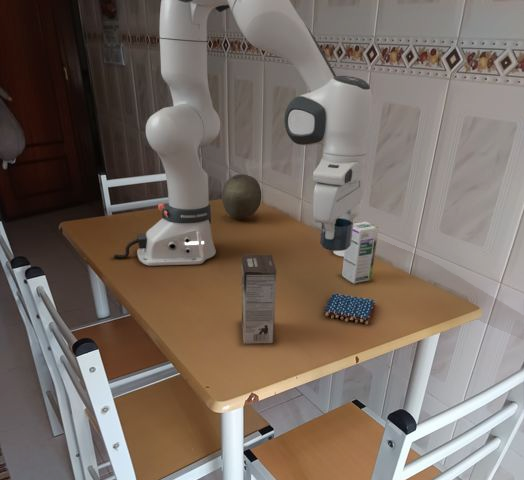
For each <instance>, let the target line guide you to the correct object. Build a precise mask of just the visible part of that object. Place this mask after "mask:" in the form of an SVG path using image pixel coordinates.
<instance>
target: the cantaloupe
mask: <svg viewBox="0 0 524 480" xmlns="http://www.w3.org/2000/svg"><path fill="white" fill-rule="evenodd" d="M221 201H222V205H223V208H224V210H225V212H226V214H228V215H229V216H230V217H232V218H233V219H235V220H246V219H247V218H250V217H251V216H253V215H254V214H256V212H257V211H258V209H259V208H260V206H261V202H262V188H261V185H260V183H259V180H257V179H256V178H255V177H254V176H251V175H248V174H243V173H241V174H240V173H239V174H235V175H233V176H231V177H230V178H228V179H227V180H226V182H225V183H224V186H223V189H222V191H221Z"/></svg>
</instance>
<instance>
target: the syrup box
mask: <svg viewBox="0 0 524 480" xmlns="http://www.w3.org/2000/svg"><path fill="white" fill-rule="evenodd" d="M378 235H379V227H378V226H377V225H375V224H373V223H371V222H369V221H363V222H356V223H353V232H352V240H351V245H350V247H348V249H346V250H345V252H344V257H343V262H342V270H341V276H342V277H343V278H344V279H345V280H347V281H348V282H351V283H352V284H353V285H355V284H358V283H363V282H368V281H372V277H373V269H374V263H375V256H376V249H377V242H378V237H379V236H378Z"/></svg>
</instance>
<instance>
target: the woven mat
mask: <svg viewBox="0 0 524 480" xmlns="http://www.w3.org/2000/svg"><path fill="white" fill-rule="evenodd" d="M374 307H376V302H375V300H374V299H369V298H365V297H364V298H363V297H357V296H354V297H353V296H351V295H347V294H345V295H344V294H339V293H335V294H334V293H333V294H331V297H330V299H328V302H327V305H325V308H324V312H323V315H325V317H329V316H330V318H331V319H334V318H336V319H339V317H340V320H341V321H342V320H344V321H345V322H346V323H347V322H348V321H349V320H350V321H354V322H355V323H356V324H357V323H358V322H360V323H364V325H366V326H367V325H368V324H369V322H370V320H371V319H372V316H373V311H374V310H375V308H374ZM344 318H345V319H344Z"/></svg>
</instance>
